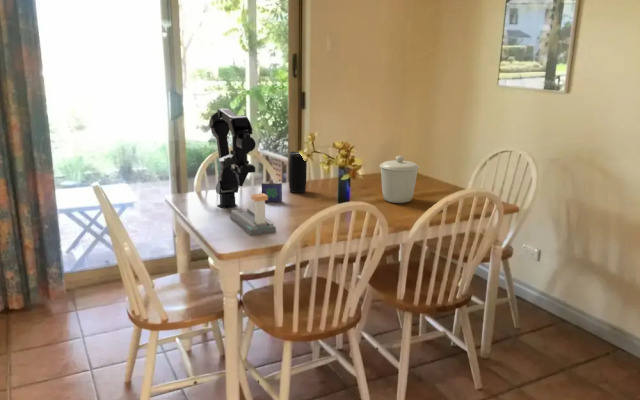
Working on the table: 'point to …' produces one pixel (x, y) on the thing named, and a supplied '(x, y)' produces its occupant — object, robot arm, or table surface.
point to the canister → (398, 180)
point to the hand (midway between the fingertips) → (240, 186)
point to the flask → (272, 191)
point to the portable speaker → (297, 173)
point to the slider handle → (259, 209)
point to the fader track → (250, 222)
